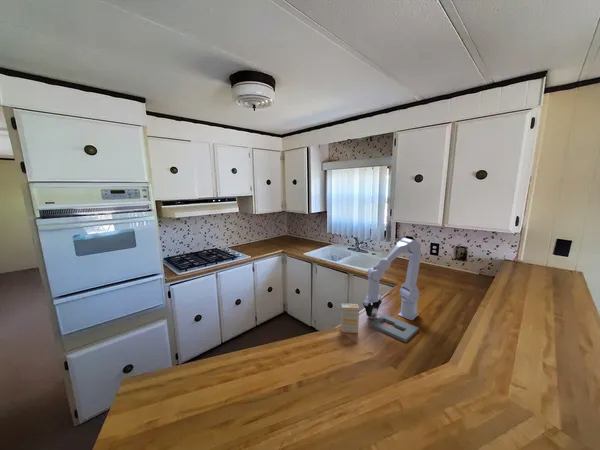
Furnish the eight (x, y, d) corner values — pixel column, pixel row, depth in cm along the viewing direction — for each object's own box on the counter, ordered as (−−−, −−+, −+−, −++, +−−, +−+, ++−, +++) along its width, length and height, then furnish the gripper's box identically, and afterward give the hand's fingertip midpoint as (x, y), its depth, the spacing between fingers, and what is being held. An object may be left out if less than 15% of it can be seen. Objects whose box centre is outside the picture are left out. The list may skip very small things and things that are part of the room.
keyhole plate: (384, 317, 130) (384, 314, 129) (418, 330, 117) (418, 327, 116) (370, 326, 119) (370, 323, 119) (405, 342, 106) (405, 339, 106)
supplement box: (356, 328, 117) (357, 303, 116) (358, 334, 112) (359, 308, 111) (340, 327, 118) (341, 302, 117) (340, 332, 113) (341, 307, 112)
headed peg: (369, 314, 132) (370, 304, 131) (378, 318, 128) (379, 307, 127) (365, 317, 128) (365, 307, 128) (373, 321, 124) (374, 310, 124)
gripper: (373, 285, 134) (372, 307, 136) (359, 291, 124) (358, 315, 126) (385, 288, 129) (383, 312, 131) (371, 295, 119) (370, 320, 121)
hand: (371, 314), depth 128 cm, fingers open, 6 cm apart
